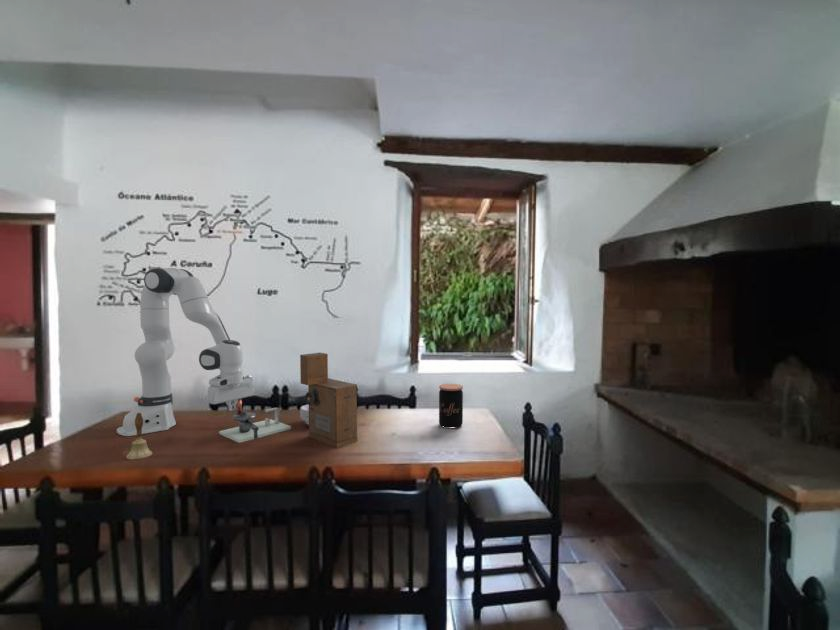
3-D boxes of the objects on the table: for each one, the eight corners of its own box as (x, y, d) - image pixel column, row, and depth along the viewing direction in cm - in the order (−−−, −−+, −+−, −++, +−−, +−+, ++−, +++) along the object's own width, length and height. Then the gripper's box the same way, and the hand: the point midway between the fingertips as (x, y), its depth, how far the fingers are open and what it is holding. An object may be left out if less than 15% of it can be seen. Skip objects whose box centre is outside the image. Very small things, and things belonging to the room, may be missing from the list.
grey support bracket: (267, 426, 199) (267, 410, 199) (265, 425, 201) (264, 409, 200) (279, 423, 204) (279, 408, 203) (276, 422, 205) (276, 407, 205)
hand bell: (149, 450, 174) (147, 408, 173) (155, 455, 168) (153, 413, 167) (123, 455, 168) (122, 413, 167) (129, 461, 162) (127, 417, 161)
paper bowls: (314, 417, 219) (314, 400, 218) (340, 421, 212) (340, 404, 212) (293, 425, 205) (293, 408, 205) (320, 430, 198) (320, 412, 198)
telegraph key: (227, 428, 196) (227, 400, 195) (248, 424, 202) (248, 397, 201) (245, 441, 179) (244, 411, 178) (267, 436, 185) (267, 407, 184)
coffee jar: (435, 427, 203) (435, 387, 202) (443, 420, 213) (443, 382, 212) (458, 430, 199) (458, 389, 198) (465, 423, 209) (465, 384, 208)
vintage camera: (300, 439, 186) (299, 354, 184) (328, 431, 197) (327, 351, 195) (328, 450, 174) (328, 359, 172) (357, 441, 184) (356, 355, 182)
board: (238, 442, 182) (238, 419, 181) (219, 433, 193) (218, 411, 192) (291, 429, 200) (290, 407, 199) (270, 421, 211) (269, 401, 210)
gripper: (247, 373, 204) (248, 404, 205) (205, 381, 187) (205, 414, 188) (256, 375, 201) (257, 406, 202) (214, 383, 184) (214, 416, 185)
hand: (231, 410), depth 195 cm, fingers closed
